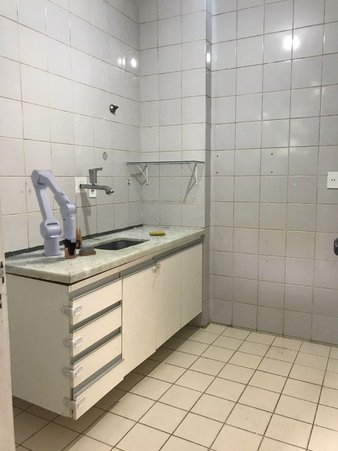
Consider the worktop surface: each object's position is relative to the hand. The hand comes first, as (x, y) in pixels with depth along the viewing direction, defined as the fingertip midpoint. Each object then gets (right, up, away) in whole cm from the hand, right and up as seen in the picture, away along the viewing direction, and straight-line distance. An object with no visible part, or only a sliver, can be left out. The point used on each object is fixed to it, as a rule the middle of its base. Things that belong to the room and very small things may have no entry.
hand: (70, 254), depth 188 cm
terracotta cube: (0, -1, 0) cm, 1 cm away
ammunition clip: (-5, +1, +25) cm, 25 cm away
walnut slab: (+7, -1, +9) cm, 11 cm away
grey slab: (+7, +1, +8) cm, 11 cm away
